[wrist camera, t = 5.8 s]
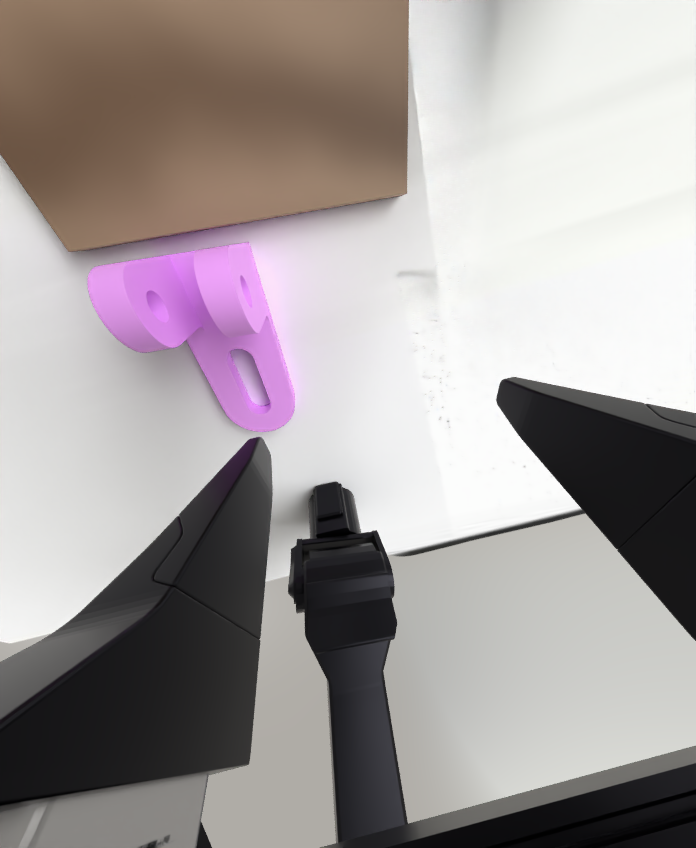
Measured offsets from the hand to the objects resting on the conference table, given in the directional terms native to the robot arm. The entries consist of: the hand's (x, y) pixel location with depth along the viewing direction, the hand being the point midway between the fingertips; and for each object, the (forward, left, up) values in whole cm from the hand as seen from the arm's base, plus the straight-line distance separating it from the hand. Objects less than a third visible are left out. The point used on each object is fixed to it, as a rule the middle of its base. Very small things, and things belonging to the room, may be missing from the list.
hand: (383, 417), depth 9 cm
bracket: (-1, +8, -12) cm, 14 cm away
